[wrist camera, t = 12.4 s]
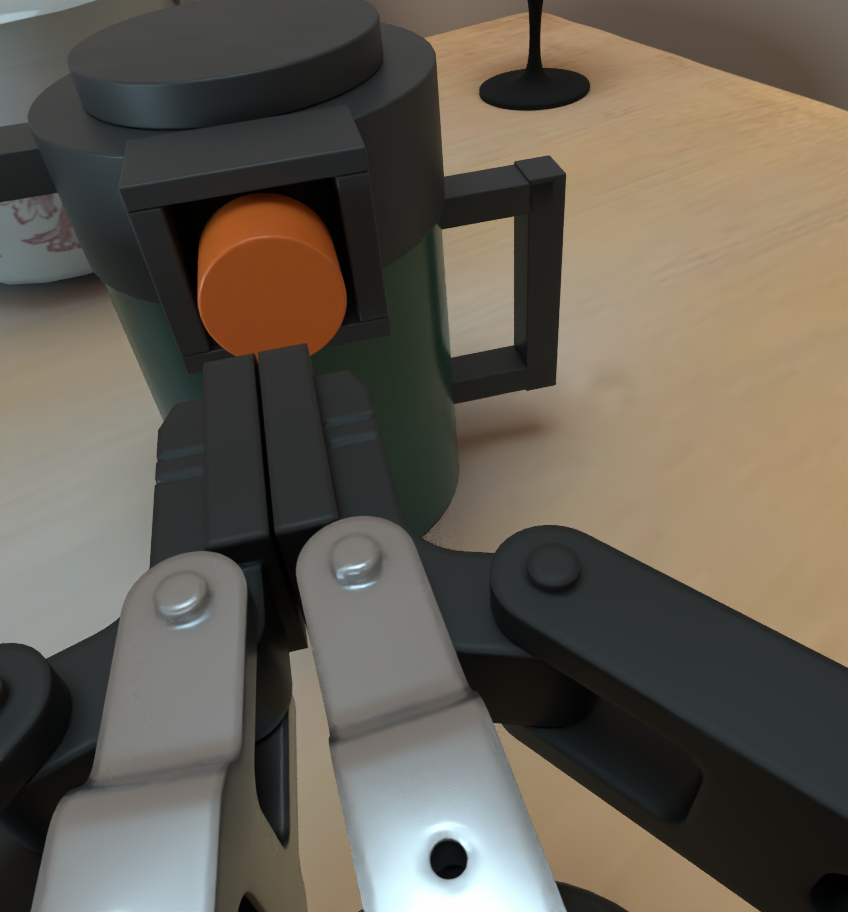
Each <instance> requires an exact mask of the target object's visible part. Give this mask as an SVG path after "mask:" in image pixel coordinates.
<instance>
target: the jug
mask: <svg viewBox="0 0 848 912" xmlns="http://www.w3.org/2000/svg"><path fill="white" fill-rule="evenodd" d="M67 65H68V69H69V71H70V73H69V74H67V75H66V76H64V77H62V78H61V79H59V80H57V81H56V82H55V83H53V84H52V85H50V86H49V87H48V88H46V89H45V90H44V91H43V92H42V93H41V94H40V95H39V96H38V97H37V98H36V99H35V100H34V102H33V103H32V105H31V106H30V109H29V112H28V115H27V118H28V122H27V123H21V124H14V125H8V126H2V127H0V203H1V202H7V201H13V200H19V199H25V198H31V197H37V196H43V195H49V194H55V193H58V195H59V197H60V199H61V202H62V204H63V206H64V208H65V211H66V213H67V215H68V218H69V220H70V222H71V224H72V227H73V229H74V231H75V234H76V236H77V238H78V240H79V243H80V245H81V247H82V250H83V252H84V254H85V256H86V259H87V261H88V263H89V265H90V267H91V268H92V270H93V272H94V273H95V274H96V275H97V276H98V277H99V278H100V279H101V280H102V281H103V282H104V284H105V287H106V289H107V291H108V293H109V296H110V298H111V300H112V303H113V305H114V307H115V310H116V312H117V314H118V317H119V319H120V321H121V324H122V326H123V328H124V331H125V333H126V335H127V338H128V340H129V342H130V345H131V347H132V349H133V352H134V354H135V356H136V359H137V361H138V363H139V365H140V368H141V370H142V372H143V375H144V377H145V379H146V382H147V384H148V386H149V389H150V391H151V393H152V396H153V398H154V400H155V403H156V405H157V407H158V410H159V412H160V414H161V417H162V419H163V421H164V420H165V419H166V417H167V415H168V414H169V412H170V411H171V409H172V407H173V406H174V404H177V403H182V402H187V401H192V400H197V399H202V398H203V364H204V363H205V362H210V361H215V360H220V359H226V358H231V357H236V356H235V355H233V354H231V353H230V352H228V351H227V350H225V349H224V348H223V347H221V346H220V345H219V344H218V343H217V342H216V341H215V340H214V339H213V338H212V336H211V335H210V334H209V333H208V331H207V329H206V328H205V326H204V324H203V322H202V319H201V317H200V313H199V309H198V245H199V240H200V237H201V234H202V231H203V229H204V227H205V225H206V223H207V222H208V220H209V219H210V218H211V216H212V215H213V214H214V213H215V212H216V211H217V210H218V209H219V208H221V207H222V206H224V205H225V204H226V203H228V202H230V201H232V200H234V199H236V198H239V197H241V196H245V195H249V194H255V193H274V194H280V195H284V196H288V197H291V198H293V199H295V200H298V201H300V202H301V203H303V204H305V205H306V206H308V207H309V208H310V209H312V210H313V211H314V212H315V213H316V214H317V215H318V216H319V217H320V218H321V220H322V221H323V222H324V223H325V225H326V227H327V229H328V230H329V233H330V235H331V237H332V241H333V244H334V248H335V251H336V255H337V259H338V262H339V266H340V270H341V273H342V277H343V280H344V284H345V288H346V295H347V306H346V312H345V316H344V319H343V322H342V324H341V326H340V328H339V330H338V331H337V333H336V334H335V335H334V337H333V338H332V339H331V340H330V341H329V343H328V344H327V345H325V346H324V347H323V348H322V349H321V350H319V351H318V352H316V353H315V354H313V355H311V356H310V358H311V362H312V367H313V371H314V376H319V375H324V374H329V373H334V372H339V371H344V370H350V371H351V372H352V373H353V374H354V375H355V376H356V377H357V378H358V379H359V380H361V381H362V382H363V383H364V384H365V385H366V386H367V387H368V388H369V391H370V395H371V398H372V402H373V406H374V409H375V413H376V418H377V421H378V424H379V428H380V432H381V436H382V439H383V443H384V447H385V450H386V454H387V458H388V461H389V465H390V469H391V473H392V476H393V480H394V484H395V487H396V491H397V495H398V499H399V502H400V506H401V510H402V513H403V515H404V518H405V520H406V522H407V523H408V525H409V526H410V527H411V528H412V530H413V531H414V532H415V533H416V534H418V535H419V536H420V537H422V536H423V535H424V534H425V533H426V532H427V531H429V529H430V528H431V527H432V526H433V525H434V524H435V523H436V522H437V521H438V520H439V518H440V517H441V515H442V514H443V512H444V511H445V510H446V508H447V507H448V505H449V503H450V500H451V498H452V496H453V494H454V491H455V488H456V485H457V481H458V472H459V464H458V450H457V436H456V422H455V408H454V404H457V403H462V402H467V401H472V400H476V399H481V398H486V397H491V396H496V395H501V394H505V393H510V392H515V391H520V390H526V391H528V390H533V389H538V388H543V387H548V386H553V385H556V369H557V349H558V328H559V308H560V288H561V268H562V247H563V227H564V207H565V186H566V173H565V172H564V171H563V170H562V169H561V168H560V166H559V165H558V164H557V163H556V162H555V161H554V160H553V159H552V158H551V156H543V157H537V158H531V159H526V160H520V161H515V162H514V165H509V166H503V167H497V168H492V169H486V170H480V171H475V172H469V173H463V174H457V175H452V176H446V177H444V171H443V156H442V140H441V125H440V110H439V95H438V80H437V65H436V54H435V51H434V49H433V48H432V46H431V44H430V43H429V42H428V41H426V40H425V39H424V38H423V37H421V36H419V35H417V34H416V33H414V32H412V31H409V30H406V29H404V28H401V27H396V26H393V25H389V24H385V23H380V19H379V14H378V11H377V9H376V8H375V7H374V6H373V5H372V4H370V3H368V2H367V1H364V0H201V1H196V2H190V3H185V4H181V5H176V6H172V7H168V8H164V9H160V10H156V11H152V12H149V13H145V14H142V15H139V16H136V17H133V18H130V19H127V20H124V21H121V22H118V23H116V24H113V25H111V26H108V27H106V28H104V29H102V30H100V31H98V32H96V33H94V34H92V35H90V36H88V37H87V38H85V39H84V40H82V41H81V42H79V43H78V44H77V45H76V46H75V47H74V48H73V49H72V50H71V51H70V53H69V54H68V57H67ZM513 216H514V345H513V346H508V347H503V348H498V349H493V350H488V351H483V352H478V353H473V354H468V355H463V356H458V357H453V358H451V352H450V338H449V324H448V310H447V297H446V283H445V269H444V255H443V241H442V229H447V228H452V227H458V226H463V225H469V224H474V223H480V222H485V221H491V220H496V219H502V218H507V217H513Z"/></svg>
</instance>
